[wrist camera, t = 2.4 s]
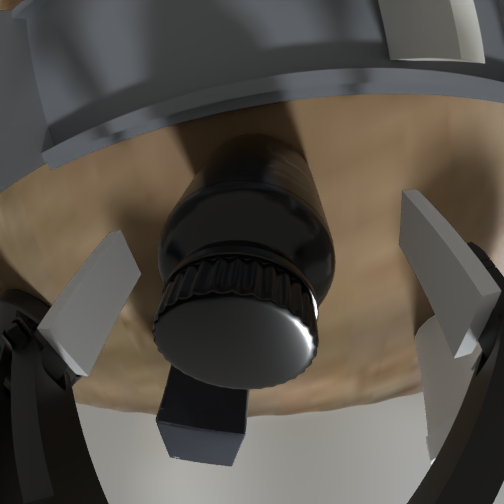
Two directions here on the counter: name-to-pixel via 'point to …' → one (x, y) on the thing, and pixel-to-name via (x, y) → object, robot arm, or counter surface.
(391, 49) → the pusher
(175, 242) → the supplement bottle
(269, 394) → the counter surface
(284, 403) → the counter surface
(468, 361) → the foam cup
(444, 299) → the robot arm
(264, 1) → the tray
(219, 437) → the small box
